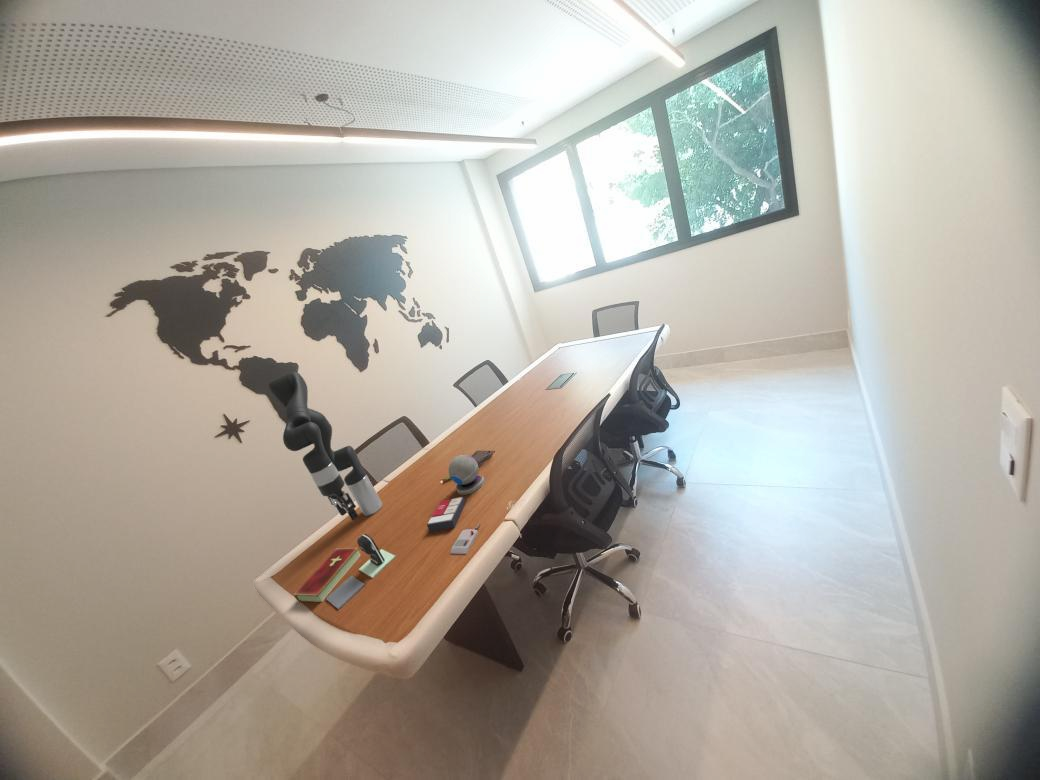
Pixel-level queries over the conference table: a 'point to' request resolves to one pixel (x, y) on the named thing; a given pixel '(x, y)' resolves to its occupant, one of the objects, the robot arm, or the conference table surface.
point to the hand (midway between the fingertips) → (349, 516)
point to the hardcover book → (328, 575)
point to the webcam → (465, 474)
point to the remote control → (464, 541)
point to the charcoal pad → (345, 592)
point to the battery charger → (370, 549)
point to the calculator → (446, 514)
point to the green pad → (373, 569)
